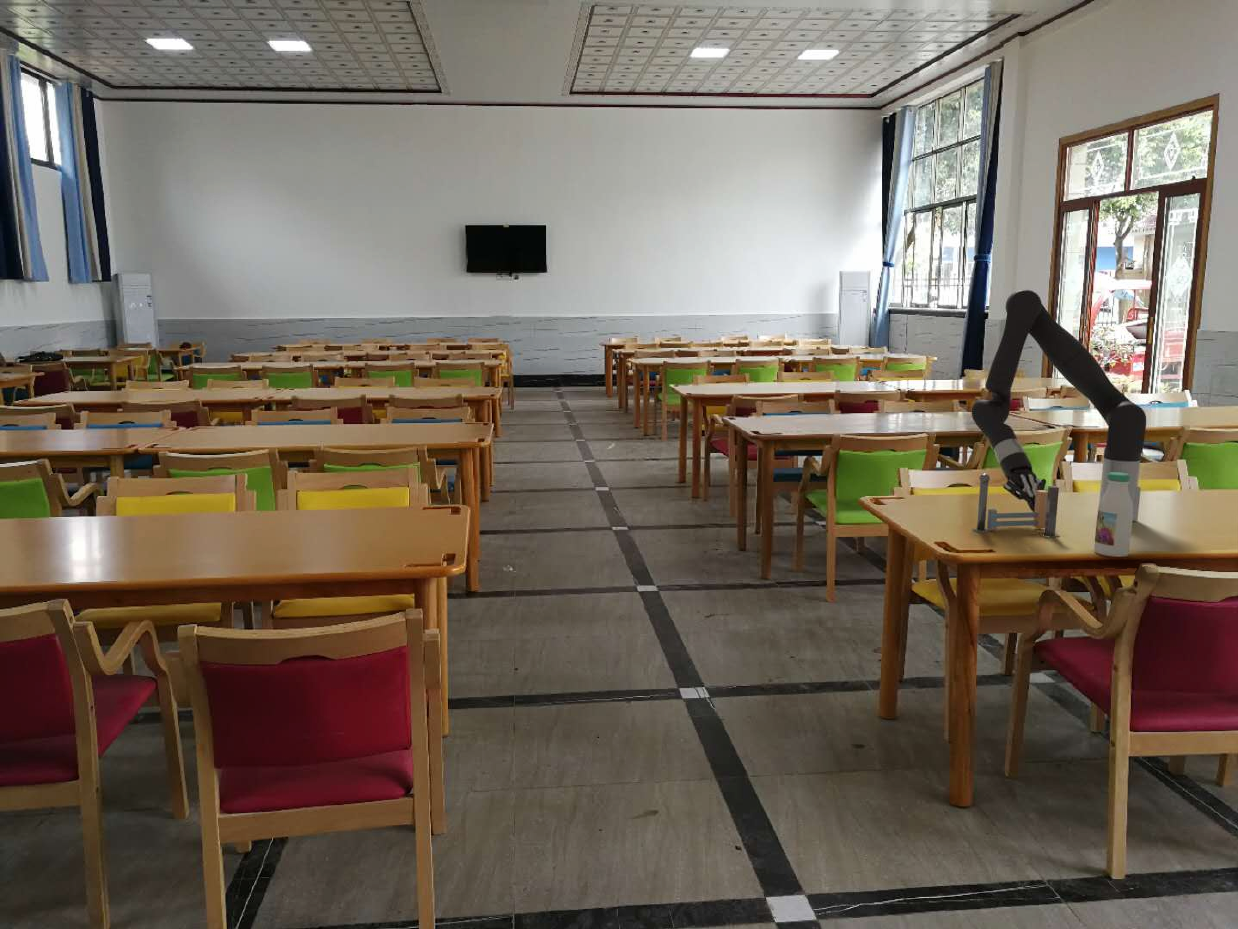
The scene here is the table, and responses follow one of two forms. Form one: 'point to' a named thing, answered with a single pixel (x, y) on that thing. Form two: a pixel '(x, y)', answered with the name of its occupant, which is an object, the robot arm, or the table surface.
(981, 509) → the hinge post
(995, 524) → the gate
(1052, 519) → the post
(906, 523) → the table surface
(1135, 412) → the robot arm
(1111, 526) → the milk bottle
